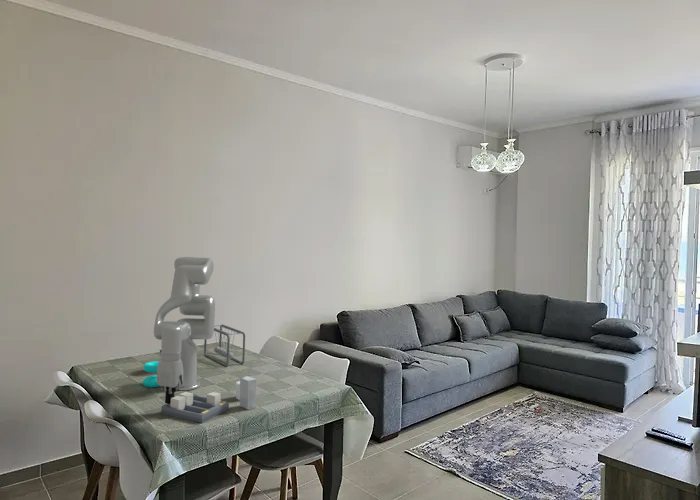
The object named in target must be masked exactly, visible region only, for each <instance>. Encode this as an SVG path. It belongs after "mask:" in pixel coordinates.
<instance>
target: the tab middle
mask: <svg viewBox="0 0 700 500" xmlns="http://www.w3.org/2000/svg"><path fill="white" fill-rule="evenodd" d="M193 395H194V393H193V392H188V391H184V392H181V393H179V394H178V396H181V397H185V404H187V405H192V404H193Z"/></svg>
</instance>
